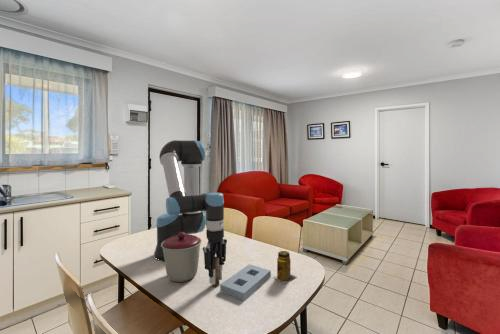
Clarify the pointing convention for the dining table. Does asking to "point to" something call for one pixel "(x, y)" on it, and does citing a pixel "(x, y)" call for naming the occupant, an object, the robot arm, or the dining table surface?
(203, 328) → the dining table surface
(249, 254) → the dining table surface
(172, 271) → the canister
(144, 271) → the dining table surface
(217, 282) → the peg
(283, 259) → the condiment
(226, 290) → the hole block
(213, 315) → the dining table surface
